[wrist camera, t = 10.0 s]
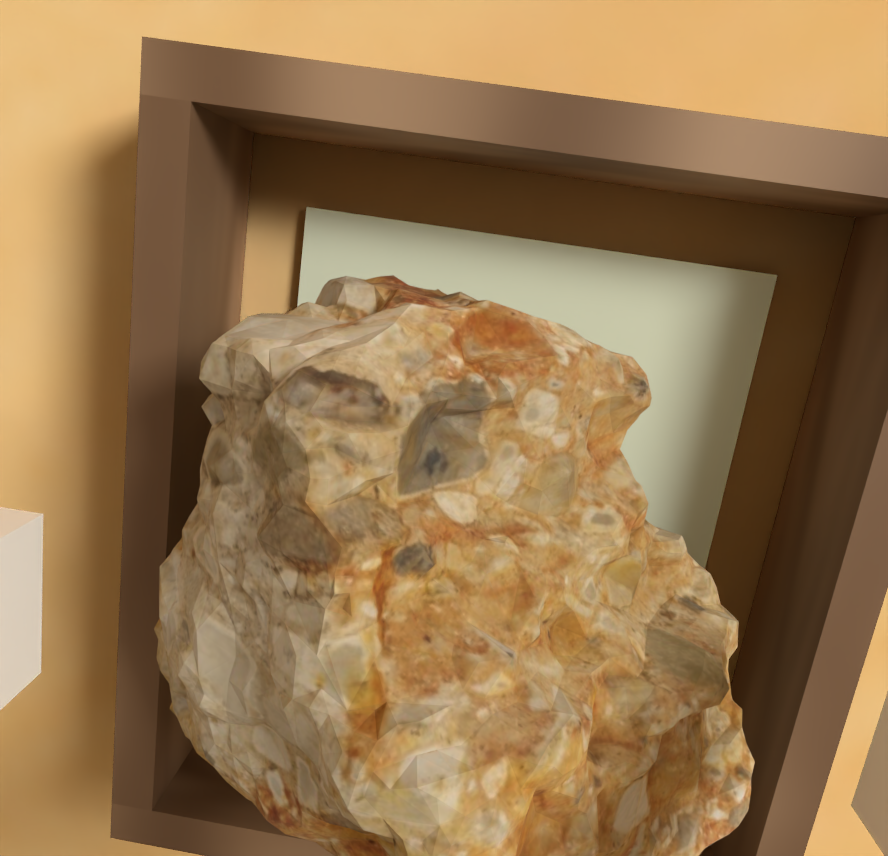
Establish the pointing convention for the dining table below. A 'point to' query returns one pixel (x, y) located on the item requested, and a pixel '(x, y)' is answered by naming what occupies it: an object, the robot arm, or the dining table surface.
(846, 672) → the brown wooden tray
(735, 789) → the rock
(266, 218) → the dining table surface
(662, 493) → the pad
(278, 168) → the dining table surface
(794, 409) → the dining table surface
